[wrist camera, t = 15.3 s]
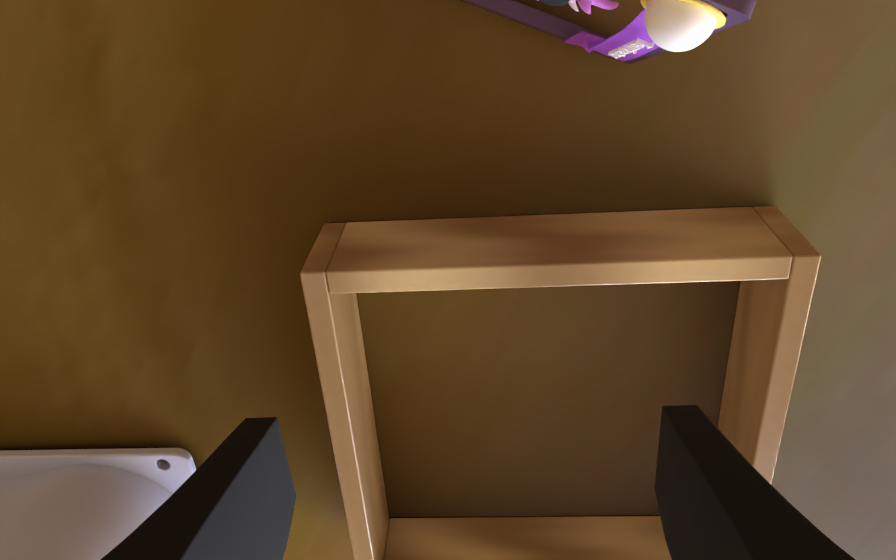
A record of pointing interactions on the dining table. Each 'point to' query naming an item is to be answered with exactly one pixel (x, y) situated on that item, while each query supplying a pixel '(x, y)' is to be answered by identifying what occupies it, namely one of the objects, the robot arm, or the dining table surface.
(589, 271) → the birch box
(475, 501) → the dining table surface
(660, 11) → the purple monster figurine
